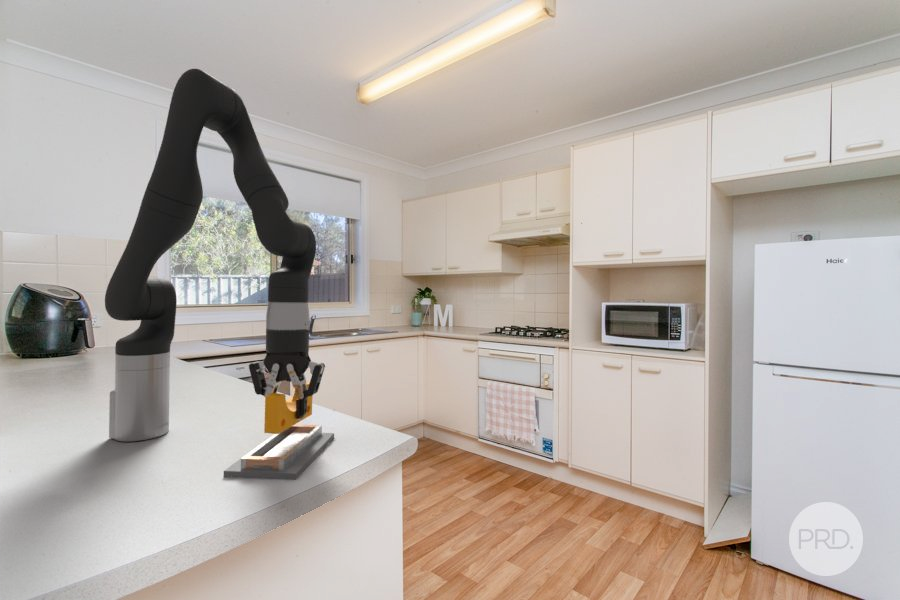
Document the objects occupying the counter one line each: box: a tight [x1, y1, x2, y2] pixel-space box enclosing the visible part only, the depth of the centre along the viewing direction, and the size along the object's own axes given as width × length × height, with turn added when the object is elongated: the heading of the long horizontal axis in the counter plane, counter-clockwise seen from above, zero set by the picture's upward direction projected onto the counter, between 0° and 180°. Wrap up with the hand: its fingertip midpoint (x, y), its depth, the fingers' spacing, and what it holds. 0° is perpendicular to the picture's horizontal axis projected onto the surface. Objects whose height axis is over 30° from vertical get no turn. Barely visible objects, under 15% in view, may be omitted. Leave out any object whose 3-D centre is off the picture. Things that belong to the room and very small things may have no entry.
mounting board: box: [223, 432, 335, 481], centre depth 77 cm, size 12×20×1 cm, turn 178°
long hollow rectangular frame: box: [240, 424, 323, 471], centre depth 77 cm, size 7×18×2 cm, turn 178°
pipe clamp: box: [263, 381, 313, 435], centre depth 77 cm, size 12×4×6 cm, turn 171°
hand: (286, 417), depth 77 cm, fingers closed on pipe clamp, 4 cm apart
